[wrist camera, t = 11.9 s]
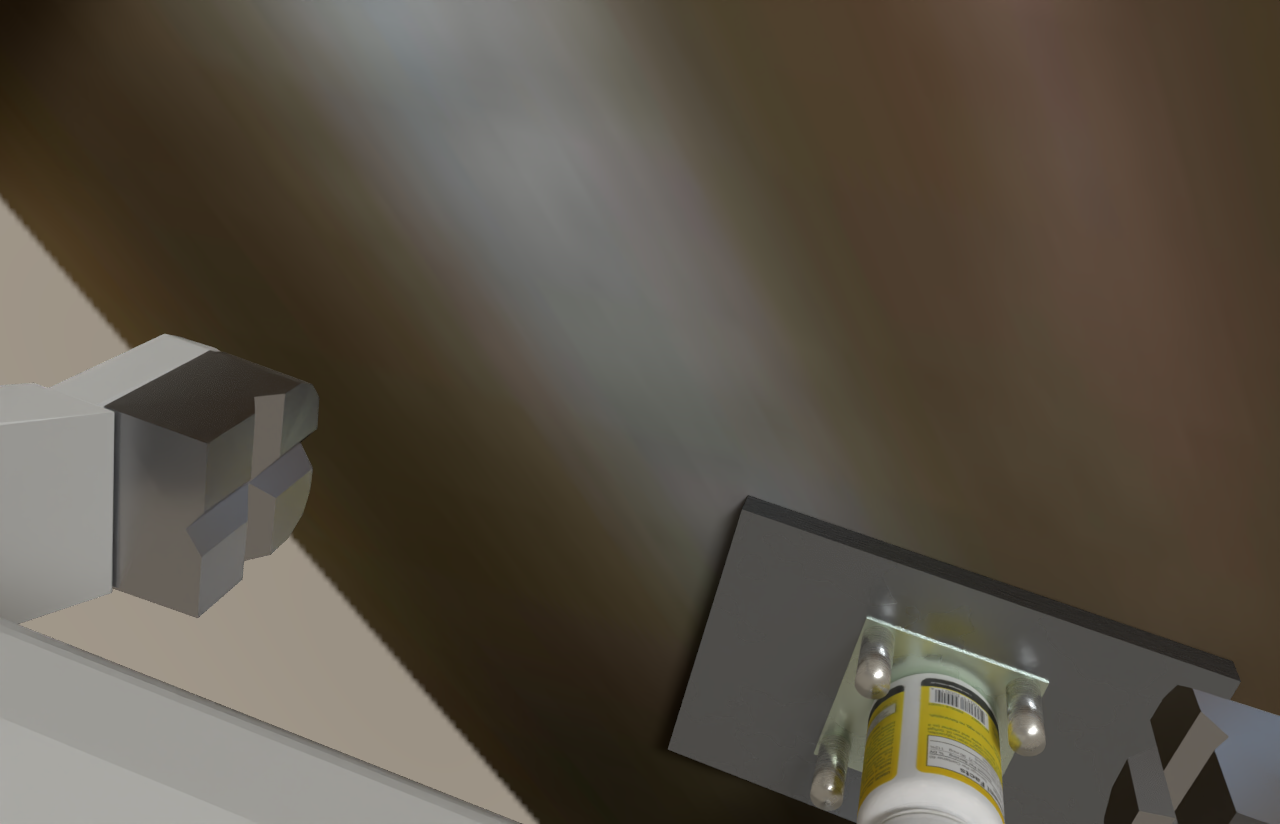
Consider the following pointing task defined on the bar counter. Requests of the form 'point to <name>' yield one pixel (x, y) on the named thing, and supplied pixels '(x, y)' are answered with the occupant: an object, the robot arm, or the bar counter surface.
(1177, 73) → the bar counter surface
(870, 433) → the bar counter surface
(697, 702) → the grey fixture plate
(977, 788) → the supplement bottle
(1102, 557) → the bar counter surface
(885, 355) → the bar counter surface
